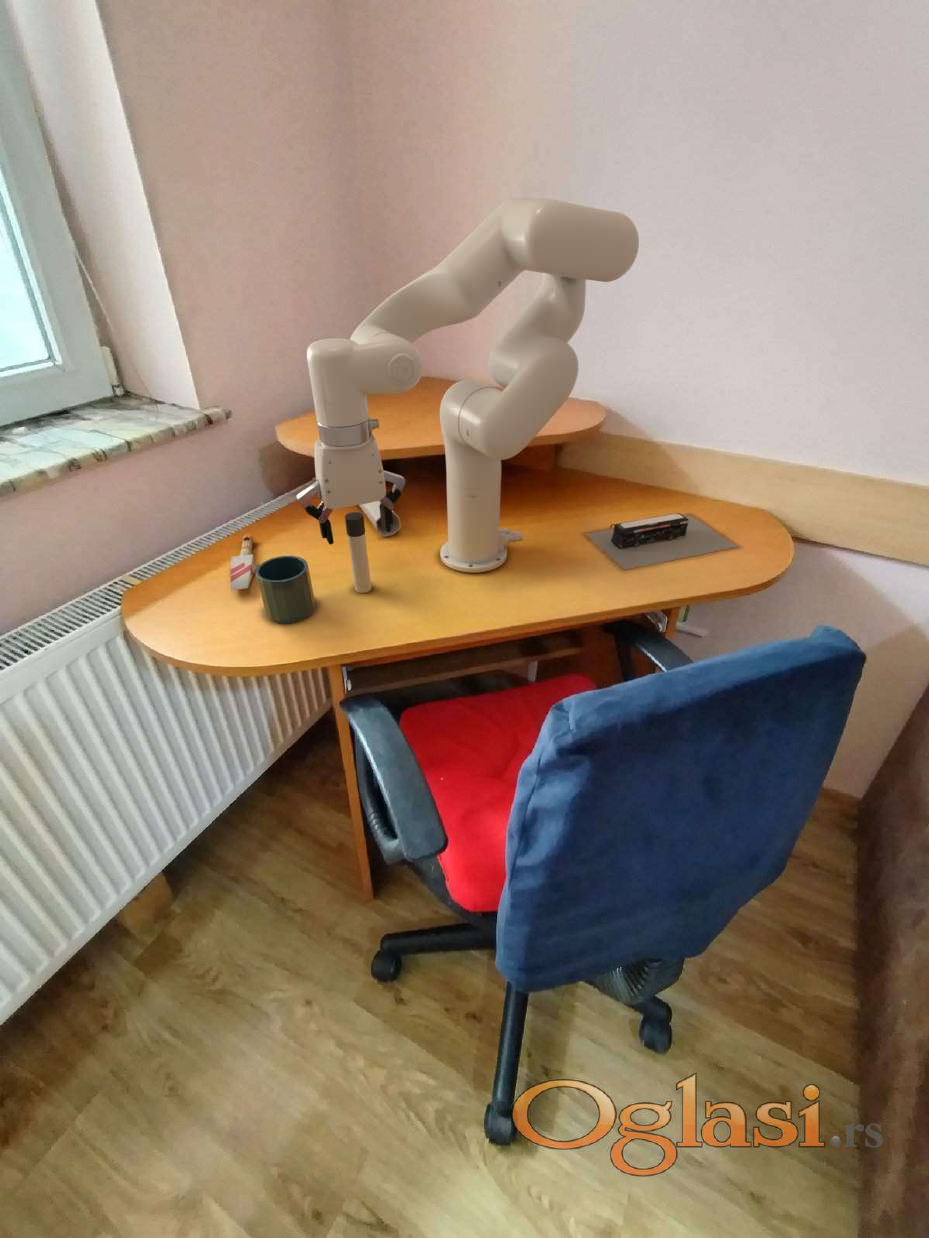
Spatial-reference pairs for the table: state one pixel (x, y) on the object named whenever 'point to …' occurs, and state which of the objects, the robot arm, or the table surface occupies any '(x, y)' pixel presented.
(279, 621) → the pen holder
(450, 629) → the table surface
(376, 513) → the tube
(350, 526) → the marker
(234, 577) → the paintbrush
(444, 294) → the robot arm
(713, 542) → the gray base plate
